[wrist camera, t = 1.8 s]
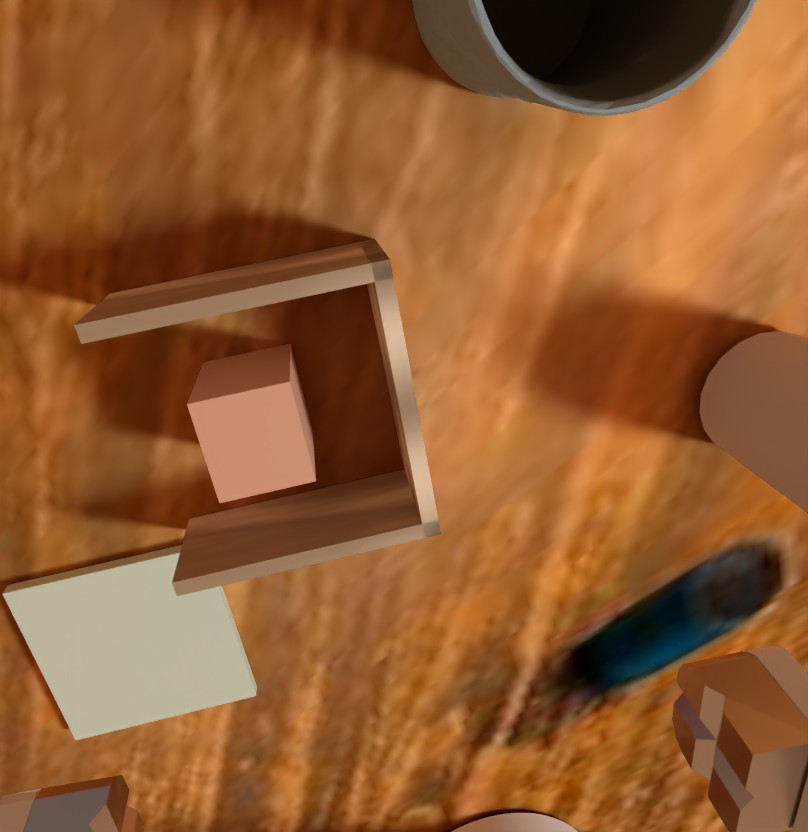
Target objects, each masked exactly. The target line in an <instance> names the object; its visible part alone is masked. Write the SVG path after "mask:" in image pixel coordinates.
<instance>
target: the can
mask: <svg viewBox="0 0 808 832" xmlns="http://www.w3.org/2000/svg"><path fill="white" fill-rule="evenodd" d="M699 413H700V417H701V421H702V424H703V428H704V431H705V432H706V433H707V435H708V436H709V437H710V439H711V440H712V441H713V443H714V444H716V445H717V446H718V447H720V448H721V449H723V450H724V451H725V452H727V453H728V454H729V455H731V456H732V457H733V458H735V459H736V460H737V461H739V462H740V463H741V464H743V465H744V466H745V467H747V468H748V469H749V470H751V471H752V472H753V473H755V474H756V475H757V476H759V477H760V478H761V479H763V480H764V481H766V482H767V483H768V484H770V485H771V486H772V487H774V488H775V489H776V490H778V491H779V492H780V493H782V494H783V495H784V496H786V497H787V498H788V499H790V500H791V501H792V502H794V503H795V504H796V505H798V506H799V507H800V508H802V509H803V510H805V511H806V512H807V513H808V339H806V338H804V337H801V336H799V335H796V334H791V333H787V332H782V331H774V332H766V333H759V334H757V335H754V336H752V337H750V338H748V339H745V340H743V341H741V342H739V343H738V344H736V345H735V346H734V347H733V348H732V349H730V350H729V351H728V352H727V353H725V354H724V355H723V356H722V357H721V358H720V360H719V361H718V362H717V364H716V365H715V366H714V368H713V369H712V370H711V372H710V373H709V375H708V377H707V380H706V382H705V385H704V387H703V390H702V393H701V400H700V412H699Z"/></svg>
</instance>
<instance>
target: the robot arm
mask: <svg viewBox="0 0 808 832" xmlns="http://www.w3.org/2000/svg"><path fill="white" fill-rule="evenodd" d="M677 684H678V685H679V687H680V688H681V690H682V691H683V693H682V694H681V695H680V696H679V698H678V699H677V700H676V701H675V702H674V705H673V717H672V720H673V725H674V730H675V734H676V738H677V741H678V743H679V746H680V748H681V751H682V753H683V755H684V756H685V758H686V760H687V762H688V763H689V765H690V767H691V769H693V770H694V771H696V772H698V773H699V774H701V775H702V776H704V777H705V778H707V779H708V780H710V782H709V791H708V798H709V799H710V801H711V803H712V804H713V806H714V808H715V809H716V811H717V813H718V814H719V816H720V818H721V819H722V821H723V823H724V824H725V826H726V828H727V830H728V831H729V832H782V831H788V830H792V832H808V673H807V672H806V671H805V670H804V668H803V667H802V666H801V665H800V664H799V663H798V662H797V661H796V659H795V658H794V657H793V656H792V655H791V654H790V653H789V652H788V650H786V649H785V648H783V647H781V646H779V645H776V646H770V647H765V648H760V649H755V650H750V651H746V652H742V651H741V652H736V653H732V654H727V655H722V656H717V657H713V658H708V659H703V660H699V661H694V662H689V663H684V664H683V665H682V666H681V667H680V668H679V670H678V676H677ZM128 794H129V789H128V787H127V785H126V782H125V780H124V778H123V776H122V775H120V776H113V777H107V778H101V779H96V780H90V781H84V782H78V783H72V784H66V785H60V786H54V787H48V788H42V789H37V790H31V791H26V792H21V793H15V794H10V795H4V796H3V797H2V798H1V800H0V832H144V830H143V824H142V821H141V818H140V815H139V813H138V811H137V810H135V809H133V808H131V807H129V806H127V799H128ZM452 832H578V831H577V830H575V829H574V828H572V827H571V826H569V825H568V824H566V823H564V822H563V821H560V820H558V819H556V818H553V817H549V816H546V815H541V814H534V813H508V814H501V815H495V816H491V817H486V818H483V819H479V820H476V821H474V822H471V823H468V824H466V825H464V826H462V827H459V828H457V829H455V830H454V831H452Z"/></svg>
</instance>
